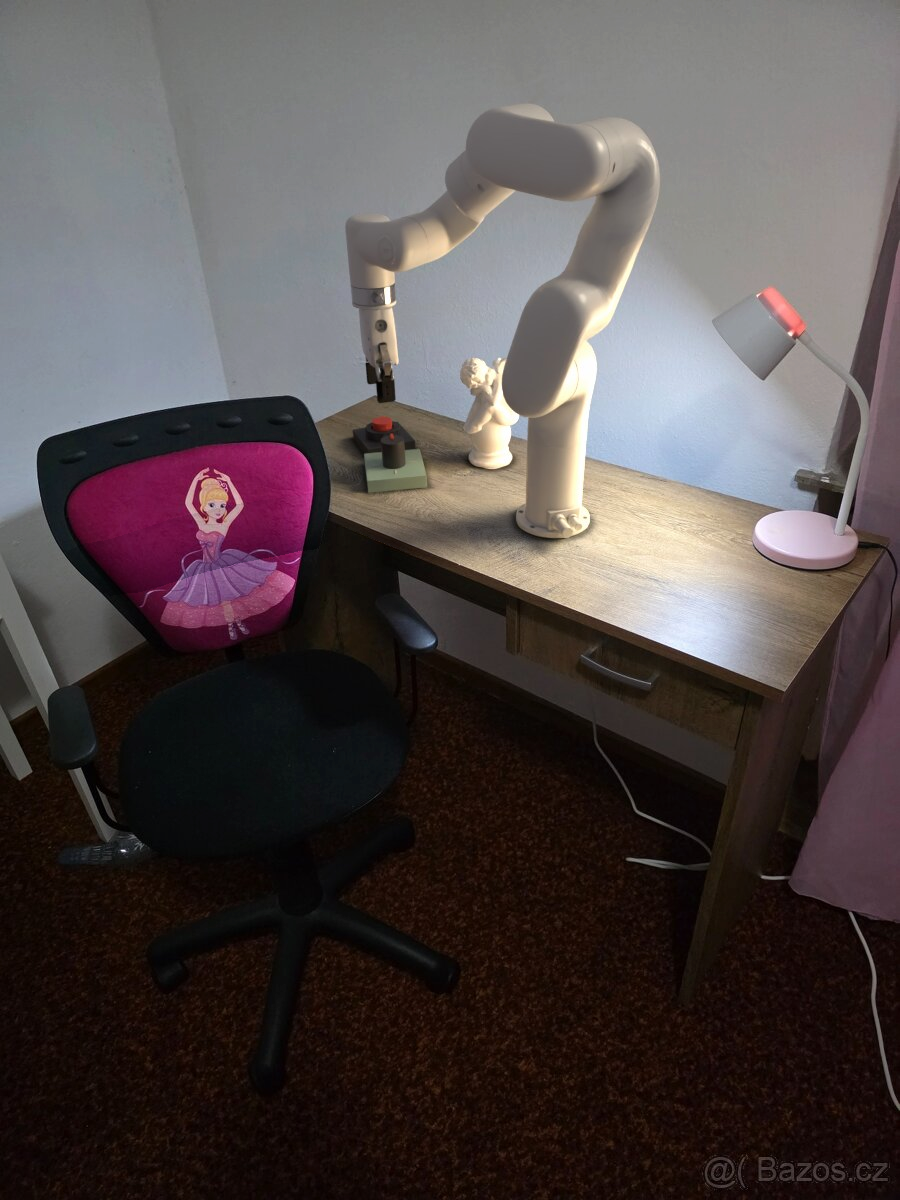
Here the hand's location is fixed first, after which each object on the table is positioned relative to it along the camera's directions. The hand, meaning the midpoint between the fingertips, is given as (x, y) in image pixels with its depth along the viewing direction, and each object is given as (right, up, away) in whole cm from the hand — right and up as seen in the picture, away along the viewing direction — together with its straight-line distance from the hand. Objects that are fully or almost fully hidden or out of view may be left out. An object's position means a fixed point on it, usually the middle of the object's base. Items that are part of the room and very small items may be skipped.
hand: (381, 392), depth 145 cm
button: (-1, -3, +19) cm, 19 cm away
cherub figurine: (+22, -9, +15) cm, 28 cm away
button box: (-1, -6, +21) cm, 21 cm away
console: (+2, -14, +9) cm, 17 cm away
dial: (+2, -12, +7) cm, 14 cm away
